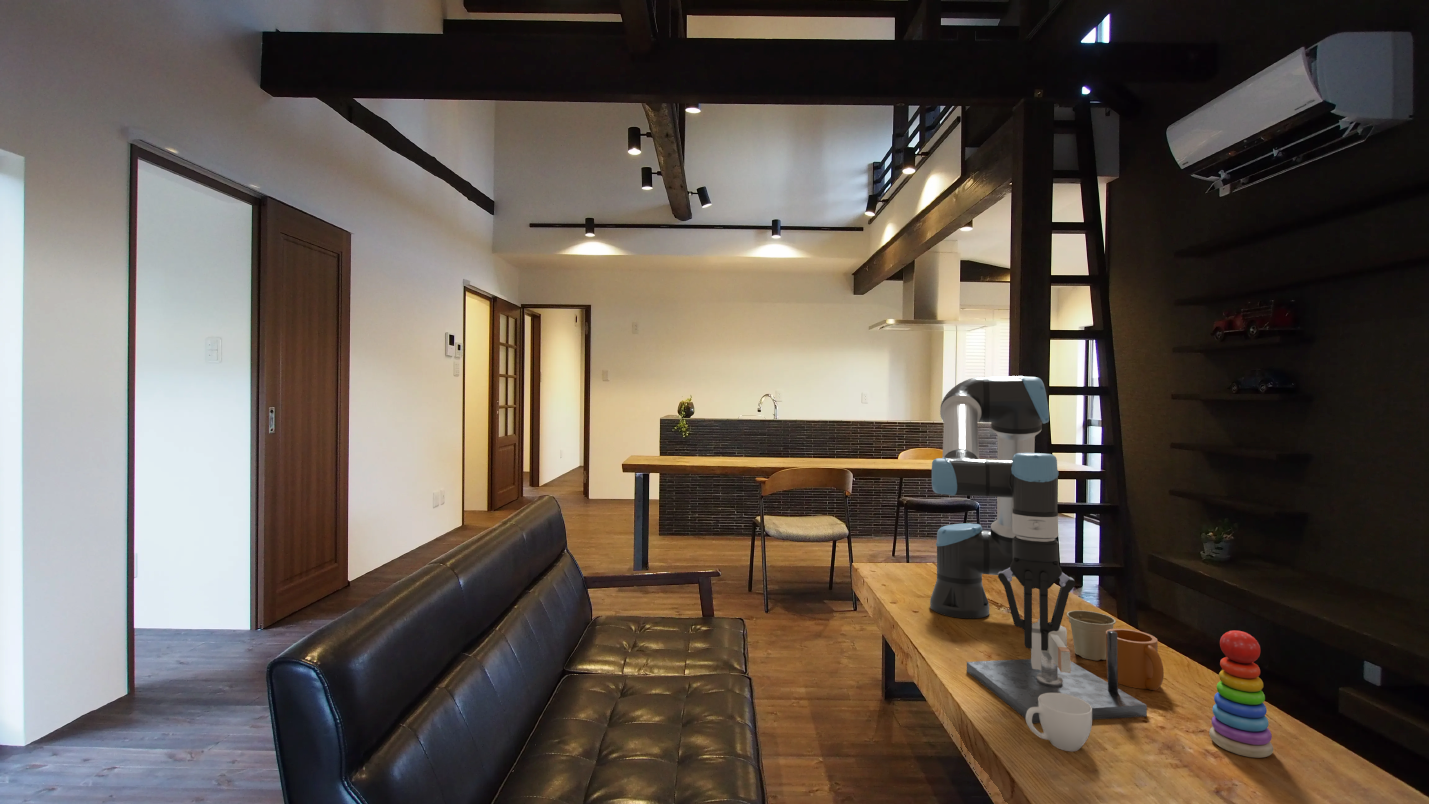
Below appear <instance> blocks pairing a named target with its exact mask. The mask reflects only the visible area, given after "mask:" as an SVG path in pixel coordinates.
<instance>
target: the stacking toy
mask: <svg viewBox="0 0 1429 804" xmlns="http://www.w3.org/2000/svg"><path fill="white" fill-rule="evenodd" d="M1219 647H1220V649H1221V651H1222V653H1223V655H1224V656H1225V657H1223V658H1221V659H1220V662H1219V666H1220V668H1221V670H1220V672H1219V673H1218V677H1219V680H1220V681H1218V682H1217V684H1216V691H1217V692H1216V693H1215V694H1214V697H1213V700H1214V703H1215V704H1213V706H1212V710H1211V711H1212V714H1213V716H1212V717H1211V725H1212V726H1211V727H1210V729H1209V731H1208V733H1209V736H1210V737H1209V738H1210V739H1211V741H1213V743H1214V744H1215V745H1217V746H1219V748H1221V749H1223V750H1226V751H1228V752H1230V753H1232V754H1236V755H1239V756H1243V757H1248V758H1259V759H1262V758H1266V757H1267V758H1268V757H1269V756H1271V755H1273V752H1274V746H1273V744H1272V742H1271V740H1272V737H1273V736H1272V732H1271V730H1270V729H1269V720H1268V718H1267V717H1266V714H1267V711H1268V709H1267V706H1266V705H1265V703H1264V702H1265V700H1266V695H1265V694H1264V692H1263V688H1264V682H1263V680H1262V679H1261V678H1260V677H1259V676H1260V675H1261V669H1260V667H1259V665H1258V664H1257V663H1255V662H1256V661H1257V660H1258V659H1259V658H1260V655H1261V645H1260V644H1259V641H1258V640H1257V639H1256V638H1255V636H1252V635H1251V634H1250V633H1248V632H1246V631H1241V630H1229V631H1226V632H1225V633H1223V634H1222V636H1220V640H1219Z"/></svg>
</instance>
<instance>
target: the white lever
mask: <svg viewBox="0 0 1429 804" xmlns="http://www.w3.org/2000/svg"><path fill="white" fill-rule="evenodd" d="M1032 628H1035V629H1040V618H1038V620H1037V622H1032ZM1067 638H1068V633H1067V628H1066V627H1065V626H1062V625H1060V628H1059V630H1058V631H1051V632H1049V633H1048V649H1047V651H1045V650H1041V652H1045V653H1049V654H1050V655H1051V657H1052V658H1053V660H1054V661H1055V663H1056V664H1057V666H1058V668H1059V670H1060V671H1061V672H1067V673H1071V668H1070V661H1071V650H1070V649H1069V647H1068V643H1067V642H1068V641H1067V640H1068V639H1067Z"/></svg>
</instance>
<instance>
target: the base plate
mask: <svg viewBox="0 0 1429 804" xmlns="http://www.w3.org/2000/svg"><path fill="white" fill-rule="evenodd" d="M1107 662H1108V677H1107V681H1106V680H1105V679H1102V678H1101V677H1099V676H1097V675H1096V674H1094V673H1092V672H1091V671H1089V670H1087V669H1085V668H1083V667H1082V666H1081V665H1078V664H1076V663H1075V662H1073V661H1071V660H1070V668H1071V673H1067V672H1061V671H1060V670H1059V668H1058V666H1057V664H1056V663H1055V661H1054V660H1053V658H1052V657H1051V655H1050V654H1049V653H1045V652H1041V670H1038V669H1032V665H1031V658H1024V659H1023V658H1022V659H1020V658H1019V659H1004V660H1003V659H1002V660H1001V659H1000V660H978V661H966V672H967V673H968V675H970V676H972V677H973V678H974V679H976V680H977V681H978V682H979V683H980V684H981V685H983V686H984V687H985V688H986V689H988V690H989V691H991V692H992V693H993V694H995V696H997V697H998V698H999V699H1000V700H1002V701H1003V702H1004V703H1005V704H1007V705H1008V706H1009V707H1010V708H1012V709H1013V710H1014V711H1016V713H1018V714H1019V715H1020V716H1021V717H1023V718H1024V719H1026V713H1027V710H1028V709H1029V708H1031V707H1038V697H1039V696H1040V695H1041V694H1044V693H1062V694H1067V695H1071V696H1074V697H1077V698H1080V699H1082V700H1084V701H1085V702H1087V703H1088V704H1089V705H1090V706H1091V707H1092V721H1094V720H1105V719H1107V720H1108V719H1125V718H1126V719H1127V718H1140V717H1141V718H1142V717H1143V718H1145V717H1147V716H1148V711H1147V708H1148V705H1147V704H1146V703H1144V702H1142V701H1141V700H1138V699H1137V698H1135V697H1134V696H1132V695H1130V694H1128V693H1127V692H1125V691H1123V690H1122V689H1120V688H1119V683H1118V654H1117V632H1114V631H1107ZM1032 723H1033V724H1038V723H1039V724H1041V723H1040V719H1039V713H1034V714H1033V717H1032Z"/></svg>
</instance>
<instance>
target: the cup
mask: <svg viewBox="0 0 1429 804" xmlns="http://www.w3.org/2000/svg"><path fill="white" fill-rule="evenodd" d="M1034 713H1039V719H1040V723H1039V724H1041V728H1042V731H1043V732H1040V731H1039V730H1038V729H1037V728H1036V727H1035V725H1034V723H1032V717H1033V714H1034ZM1025 722H1026V725H1027V727H1028V728H1029V730H1030V731H1031V732H1032V733H1033V734H1034V735H1036V736H1037V737H1038V738H1040V739H1042V740H1046V741H1047V740H1048V741H1049V742H1050V743H1051V745H1052V746H1054V747H1055V748H1056V749H1059V750H1062V751H1064V752H1065V751H1066V752H1077V751H1079V750H1080V749H1081V748H1082V747H1084V744H1085V743H1086V742H1087V740H1088V738H1089V737H1090V734H1091V731H1092V724H1093V720H1092V707H1091V706H1090V705H1089V704H1088V703H1087V702H1085V701H1084V700H1082V699H1080V698H1077V697H1074V696H1071V695H1067V694H1062V693H1044V694H1041V695H1040V696H1039V697H1038V707H1031V708H1029V709H1028V710H1027V713H1026V718H1025Z"/></svg>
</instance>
